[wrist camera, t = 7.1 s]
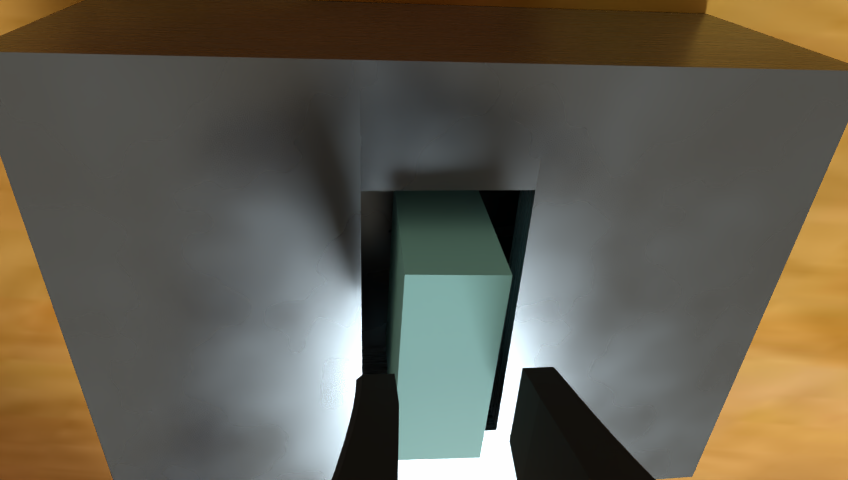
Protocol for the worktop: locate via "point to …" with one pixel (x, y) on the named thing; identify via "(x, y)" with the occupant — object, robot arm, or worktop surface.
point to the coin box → (373, 205)
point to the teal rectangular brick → (444, 320)
